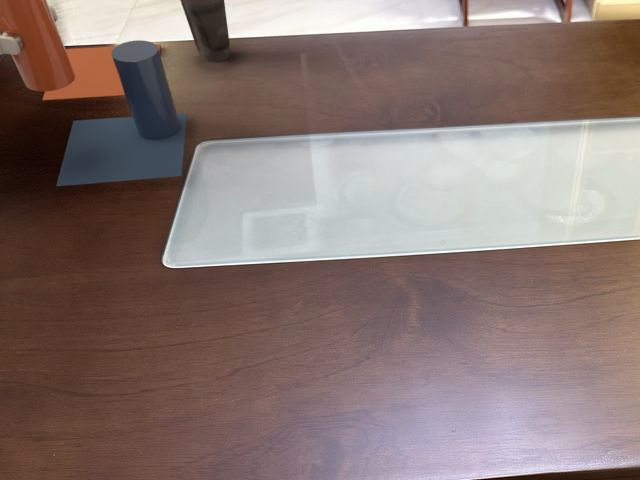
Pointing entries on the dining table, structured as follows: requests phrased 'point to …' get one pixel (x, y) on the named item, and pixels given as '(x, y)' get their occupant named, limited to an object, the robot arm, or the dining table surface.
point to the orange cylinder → (37, 44)
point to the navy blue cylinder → (146, 89)
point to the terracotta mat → (91, 75)
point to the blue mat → (119, 153)
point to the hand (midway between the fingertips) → (36, 30)
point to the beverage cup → (208, 28)
